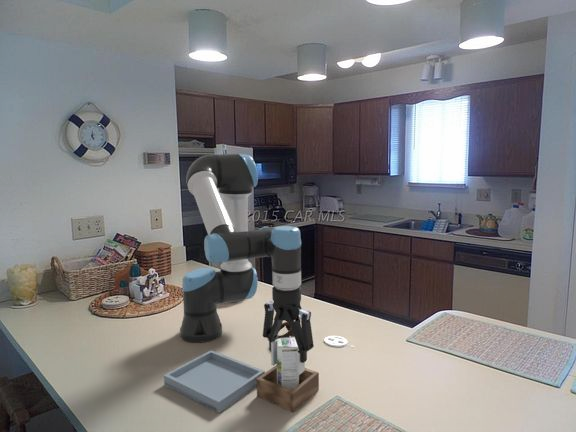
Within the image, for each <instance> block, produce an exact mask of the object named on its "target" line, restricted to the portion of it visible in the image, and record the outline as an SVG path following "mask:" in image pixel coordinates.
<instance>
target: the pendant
mask: <svg viewBox="0 0 576 432" xmlns="http://www.w3.org/2000/svg"><path fill="white" fill-rule="evenodd" d="M323 340H324V341H323V342H324V343H325V345H327V346H330V347H333V348H343V347H346V346H347V347H350V348H355V346H354V345H350V344H348V339H346V338H345V337H343V336H339V335H329V336H325V337H324V339H323Z"/></svg>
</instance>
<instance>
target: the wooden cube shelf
mask: <svg viewBox="0 0 576 432" xmlns="http://www.w3.org/2000/svg"><path fill="white" fill-rule="evenodd" d="M319 376H320V374H319V372H318V371H315V370H312V369H309V368H307V367H305V371H304V372H302V373H301V374H300V375H299V386H297V387H296V388H295V389H294V390H290V389H287V388H285V387H282V386H280V385H277V364H275V365H274V366H273V367H272V368H270V369H268V370H267V371H266V372H265V373H264V374H263V375H261V376H260V377H258V378H257V387H256V396H257V397H259V398H260V399H263V400H265V401H267V402H270V403H271V404H274V405H276V406H279V407H281V408H283V409H285V410H287V411H290V412H291V413H294V412H296V411H297V410H298V409H299V408H300V407H301V406H302V405H304V403H306V401H308V400H309V399H310V398H311V397H312V396H314V394H316V393H317V392H318V391H319V390H320V385H319V384H320V383H319V382H320V381H319V380H320V379H319V378H320V377H319Z"/></svg>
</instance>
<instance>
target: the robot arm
mask: <svg viewBox="0 0 576 432" xmlns="http://www.w3.org/2000/svg"><path fill="white" fill-rule="evenodd" d="M258 173H259V172H258V168H257V165H256V163H255V160H254V158H253V157H252V156H251V155H249V154H243V153H228V154H227V153H225V154H221V153H220V154H211V153H209V154H205V155H203V156H200V157H198V158H197V159H196V160H194V161H193V162H192V164H191V165H190V166H189V168H188V169H187V173H186V179H185V180H186V181H185V183H186V186H187V189H188V191H189V193H190V194H191V195H193V196H194V199H195V202H196V204H197V208H198V210H199V213H200V216H201V218H202V219H201V220H202V222H203V224H204V227H205V230H206V232H207V235H206V236H205V237H204V242H203V244H204V245H203V246H204V248H203V249H204V254H205V255H204V256H205V258H206V260H207V262H210V263H221V264H220V266H219V267H220V270H219V271H216V270H215V269H214V268H212V267H207V268H206V267H201V268H197V269H194V270H191V271H189V272H187V273H185V274H184V276H183V277H182V286H181V290H182V299H183V300H182V301H183V302H182V303H183V317H182V321H181V322H182V323H181V326H180V329H179V337H180V339H181V340H183V341H185V342H186V343H187V342H189V343H197V344H198V343H206V342H210V341H213V340H216V339H218V338H219V337H221V335H222V334H223V324H222V322H221V320H220V316H219V314H218V311H217V310H218V309H217V308H218V307H217V305H219V304H220V305H221V304H226V303H233V302H239V301H240V302H243V301H245V300H249V299H252V298H253V297H254V296H255V295H256V292H257V289H258V284H259V283H258V279H259V278H258V273H257V270H256V269H255V267H253V264H252V262H250V261H249V260H251V259H259V258H266V257H267V258H271V274H272V275H271V276H272V277H271V279H272V281H271V282H272V284H271V285H272V287H271V288H272V291H271V292H272V301H271V300H270V301H268V302H266V303H264V304H263V307H264V321H263V330H262V336H263V338H265V339H267V341H268V350H269V352H270V355H271V356H270V357H271V359H270V361H271V362H270V365H271V366H273V367H274V366H276V365H277V339H276V338H277V335H279V333H280V331H281V330H280V327H281V325H282V323H284V322H283V321H285V322H288V323H289V325H290V327H292V330H293V333H294V336H295V337H294V338H295V340H296V343H297V346H298V350H297V351H296V374H297V375H300V374H301V373H302V372H304V371H305V368H306V365H305V363H306V362H307V360H308V359H307V358H308V352H309V351H310V350H312V349H313V348H314V347H315V346H314V345H315V344H314V339H313V331H312V324H311V316H312V312H311V311H310V310H307V311H306V310H303V308H302V306H301V300H302V287H301V285H302V268H301V267H302V239H301V230H300V228H299V227H295V226H291V225H283V226H281V225H279V226H276V227H269V226H264V227H261V228H259V229H257V230H249V229H248V228H249V227H248V226H249V225H248V224H249V219H248V218H249V215H248V214H249V211H248V209H249V207H248V204H249V202H248V200H249V196H251V195H252V194H253V188H255V187H256V186H257V185H258V180H259V174H258ZM222 197H223V198H222ZM293 321H294V322H293ZM279 330H280V331H279Z"/></svg>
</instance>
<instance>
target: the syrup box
mask: <svg viewBox="0 0 576 432" xmlns="http://www.w3.org/2000/svg"><path fill="white" fill-rule="evenodd" d="M297 350H298V346H297V343H296V340H295V337H290V338H279V339H277V364H276V365H277V385H280V386H282V387H285V388H287V389H290V390H294V389H295V388H296V387H297V386H299V375H297V374H296V351H297Z"/></svg>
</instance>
